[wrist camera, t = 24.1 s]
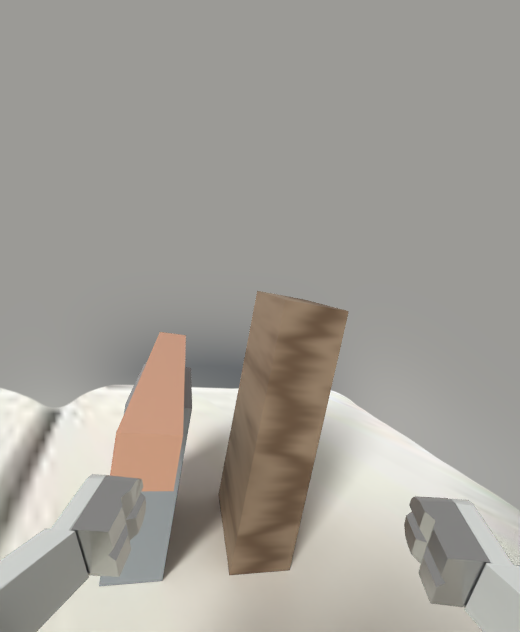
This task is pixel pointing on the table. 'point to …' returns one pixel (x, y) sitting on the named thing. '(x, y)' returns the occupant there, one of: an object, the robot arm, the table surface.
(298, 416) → the pillar
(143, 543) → the blue-grey block
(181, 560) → the table surface
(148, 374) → the bar
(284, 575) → the table surface
